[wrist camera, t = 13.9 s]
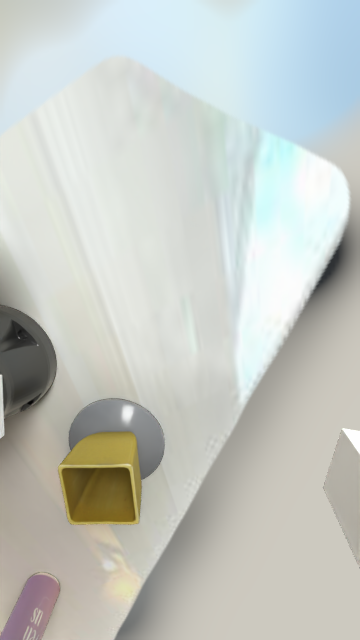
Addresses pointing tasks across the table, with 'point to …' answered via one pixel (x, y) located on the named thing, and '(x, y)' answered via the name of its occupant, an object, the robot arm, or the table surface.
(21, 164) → the table surface
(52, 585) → the beverage can
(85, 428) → the disc
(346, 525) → the robot arm
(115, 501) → the flower pot
